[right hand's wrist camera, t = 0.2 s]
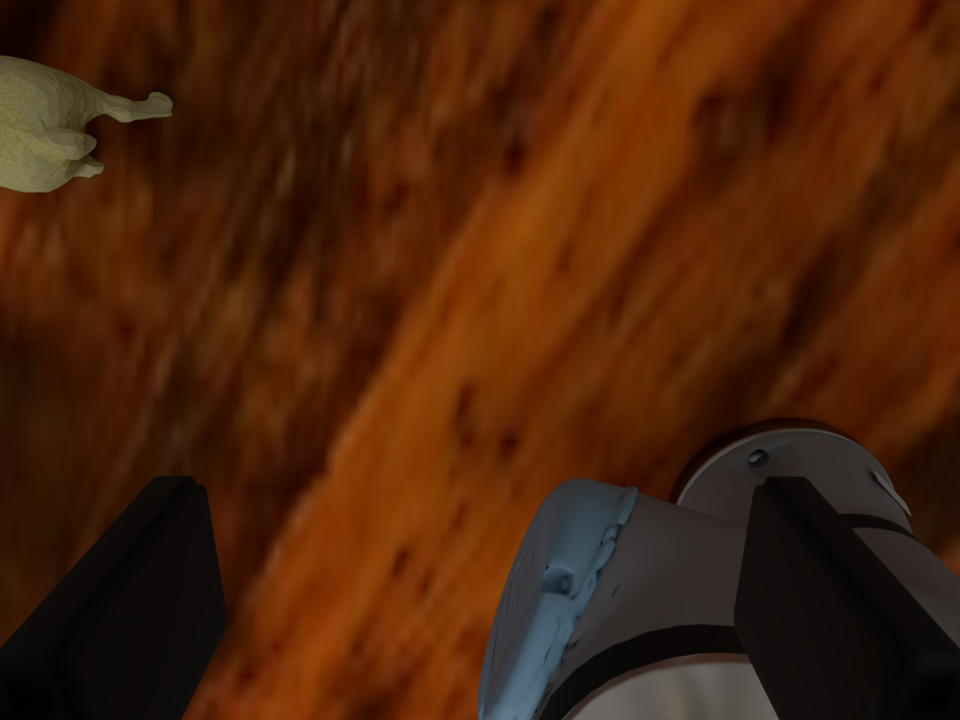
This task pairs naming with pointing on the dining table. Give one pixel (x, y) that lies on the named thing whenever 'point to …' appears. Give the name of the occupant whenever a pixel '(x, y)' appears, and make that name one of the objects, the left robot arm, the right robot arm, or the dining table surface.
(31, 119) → the toy
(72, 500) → the dining table surface
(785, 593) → the right robot arm
